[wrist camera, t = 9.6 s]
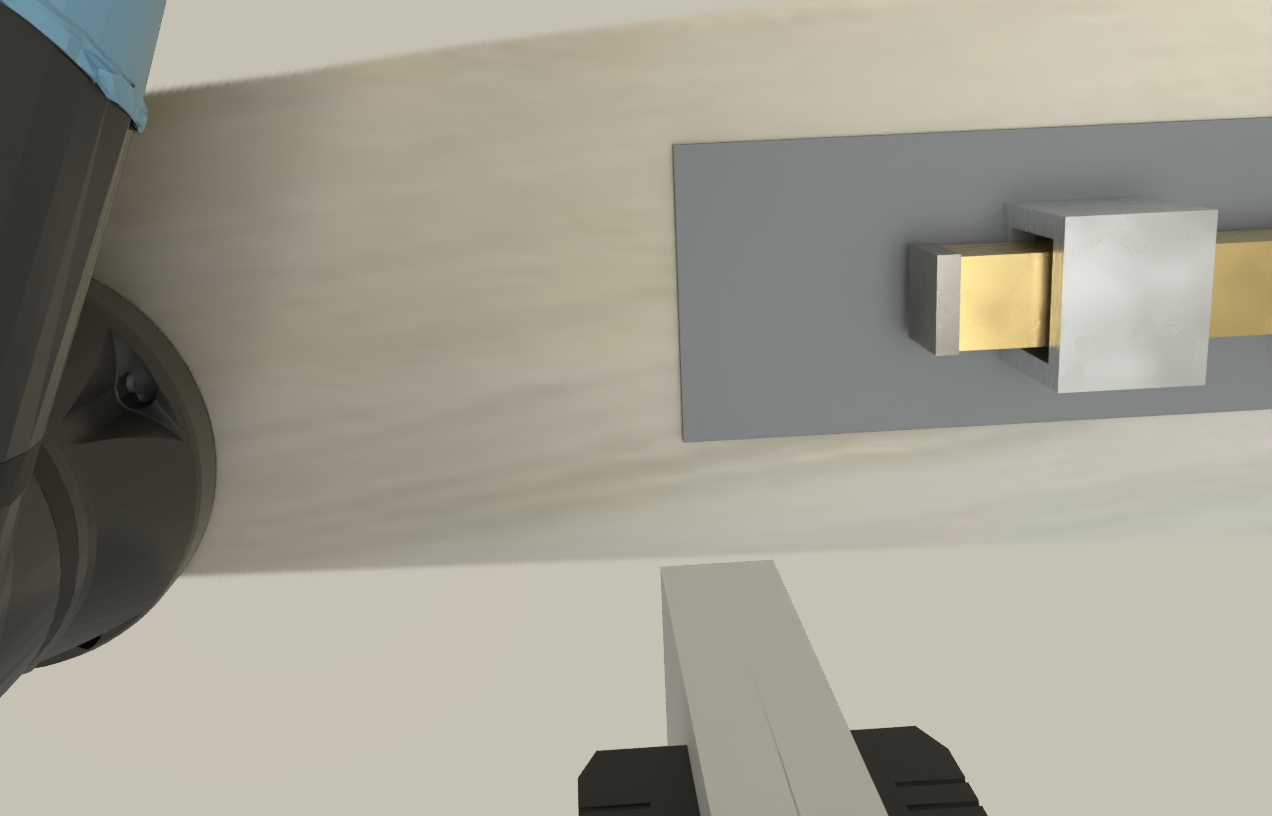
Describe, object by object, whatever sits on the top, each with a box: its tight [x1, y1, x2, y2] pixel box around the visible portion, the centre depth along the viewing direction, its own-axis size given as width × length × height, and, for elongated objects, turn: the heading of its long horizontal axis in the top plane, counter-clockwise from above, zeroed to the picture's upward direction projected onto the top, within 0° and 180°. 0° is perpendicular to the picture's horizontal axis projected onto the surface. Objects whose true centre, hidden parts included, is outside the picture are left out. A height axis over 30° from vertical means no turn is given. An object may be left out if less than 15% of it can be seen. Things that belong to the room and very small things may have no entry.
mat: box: [673, 117, 1272, 442], centre depth 45 cm, size 29×11×1 cm, turn 92°
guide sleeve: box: [998, 196, 1218, 393], centre depth 42 cm, size 5×6×6 cm
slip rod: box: [908, 229, 1272, 356], centre depth 43 cm, size 16×3×3 cm, turn 92°
